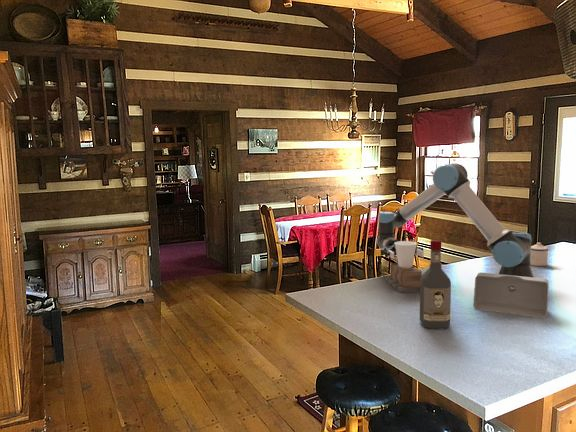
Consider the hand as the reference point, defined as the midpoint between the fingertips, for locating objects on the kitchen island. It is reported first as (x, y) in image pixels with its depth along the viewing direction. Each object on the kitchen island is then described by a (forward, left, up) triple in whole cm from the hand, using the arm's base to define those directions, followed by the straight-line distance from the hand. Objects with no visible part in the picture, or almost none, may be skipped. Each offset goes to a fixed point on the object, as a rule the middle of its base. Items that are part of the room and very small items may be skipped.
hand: (408, 255), depth 208 cm
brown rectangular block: (+3, -1, -15) cm, 16 cm away
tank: (-42, -13, -16) cm, 46 cm away
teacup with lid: (-6, -87, -15) cm, 89 cm away
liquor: (-38, +26, -15) cm, 48 cm away
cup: (+3, -1, -6) cm, 7 cm away
